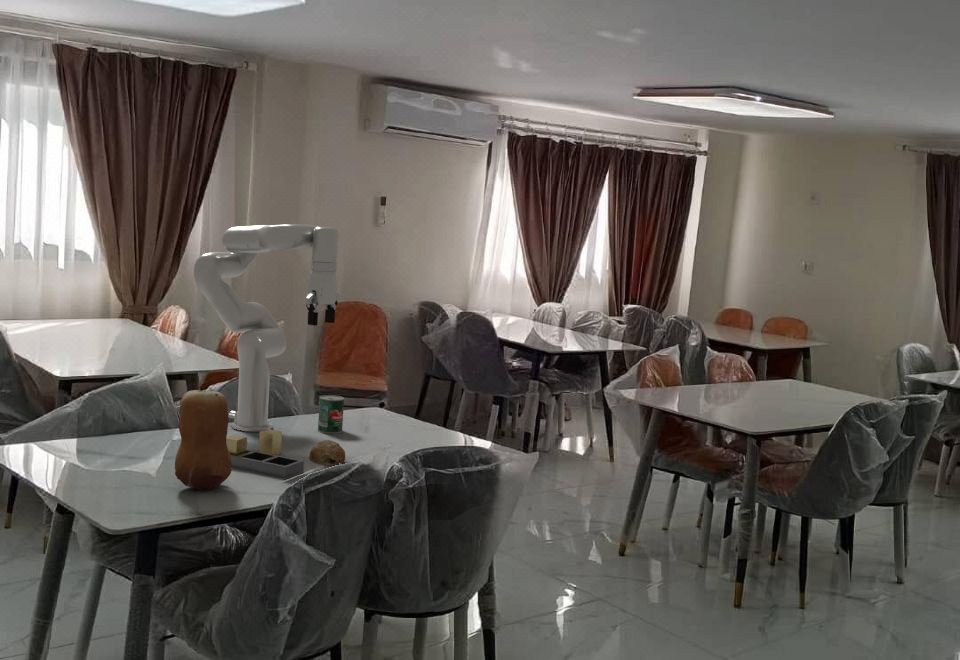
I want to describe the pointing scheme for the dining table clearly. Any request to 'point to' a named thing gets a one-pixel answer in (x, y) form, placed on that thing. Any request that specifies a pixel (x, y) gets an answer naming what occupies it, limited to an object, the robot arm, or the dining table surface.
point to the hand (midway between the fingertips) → (321, 323)
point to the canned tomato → (330, 414)
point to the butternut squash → (203, 440)
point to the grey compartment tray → (268, 464)
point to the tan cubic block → (270, 441)
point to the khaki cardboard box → (236, 445)
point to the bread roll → (327, 453)
